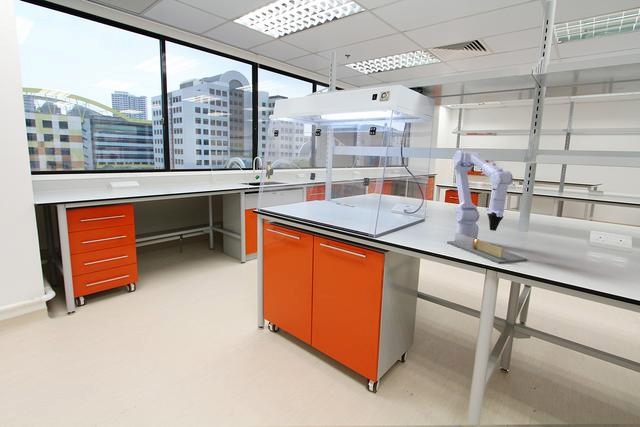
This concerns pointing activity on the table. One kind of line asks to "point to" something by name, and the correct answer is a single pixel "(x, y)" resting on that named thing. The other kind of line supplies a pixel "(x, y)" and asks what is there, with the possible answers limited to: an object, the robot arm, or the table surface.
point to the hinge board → (505, 258)
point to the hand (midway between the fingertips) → (492, 230)
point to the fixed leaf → (464, 240)
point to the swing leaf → (488, 248)
